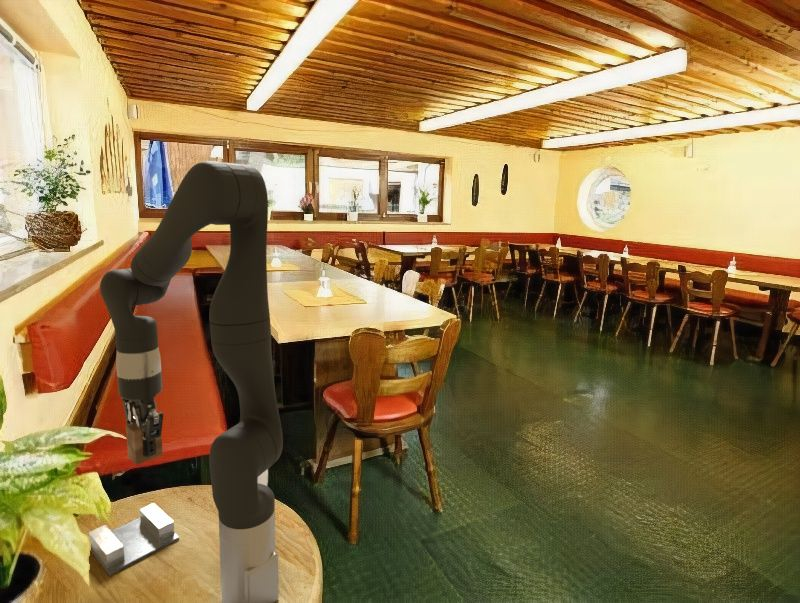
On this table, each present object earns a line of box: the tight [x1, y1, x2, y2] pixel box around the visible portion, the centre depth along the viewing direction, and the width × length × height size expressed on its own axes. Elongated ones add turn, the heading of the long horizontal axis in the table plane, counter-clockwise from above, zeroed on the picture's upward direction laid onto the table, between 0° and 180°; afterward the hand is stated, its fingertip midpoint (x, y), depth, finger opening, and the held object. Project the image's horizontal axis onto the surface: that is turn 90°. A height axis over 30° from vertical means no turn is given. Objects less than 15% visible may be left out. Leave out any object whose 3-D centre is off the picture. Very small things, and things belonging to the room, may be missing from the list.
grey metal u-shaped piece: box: [88, 502, 180, 577], centre depth 95 cm, size 12×13×4 cm
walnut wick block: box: [125, 421, 164, 466], centre depth 93 cm, size 4×5×7 cm
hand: (144, 450), depth 94 cm, fingers closed on walnut wick block, 4 cm apart
